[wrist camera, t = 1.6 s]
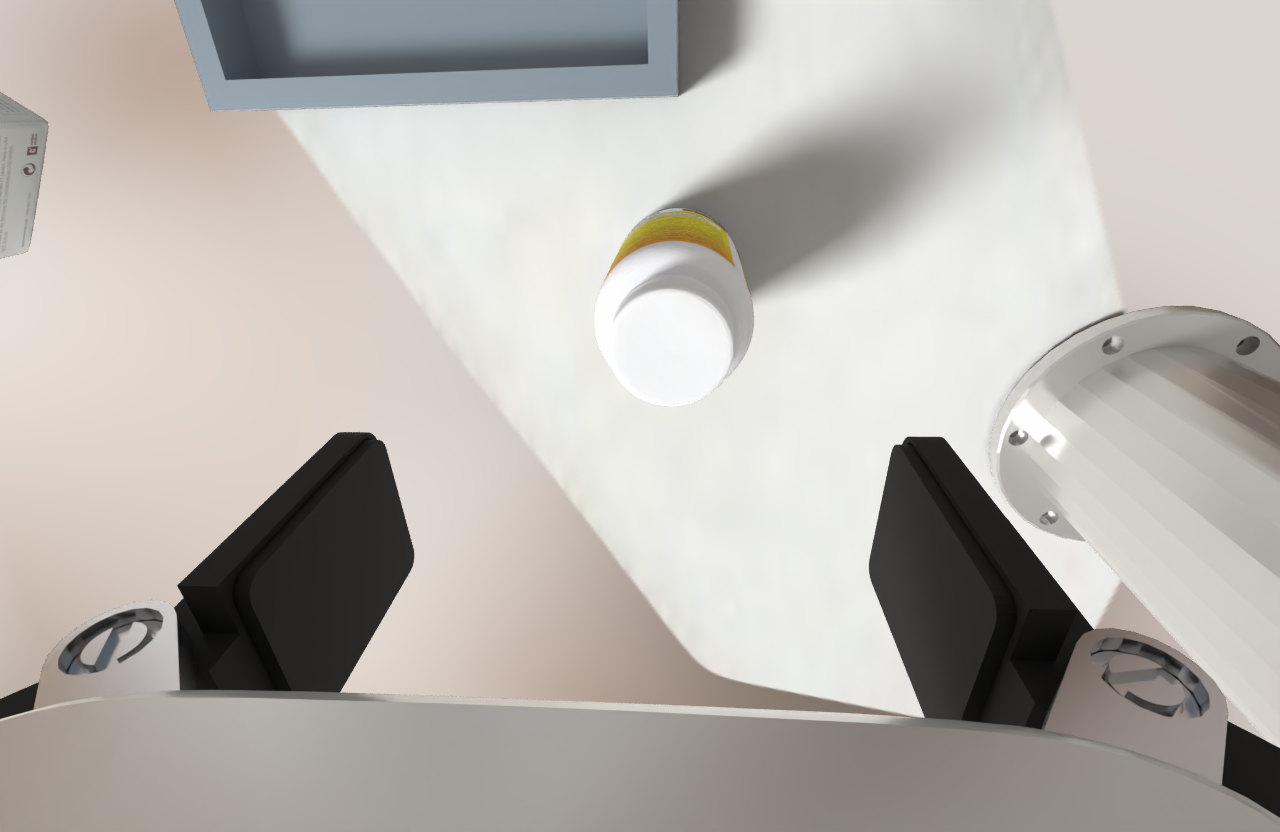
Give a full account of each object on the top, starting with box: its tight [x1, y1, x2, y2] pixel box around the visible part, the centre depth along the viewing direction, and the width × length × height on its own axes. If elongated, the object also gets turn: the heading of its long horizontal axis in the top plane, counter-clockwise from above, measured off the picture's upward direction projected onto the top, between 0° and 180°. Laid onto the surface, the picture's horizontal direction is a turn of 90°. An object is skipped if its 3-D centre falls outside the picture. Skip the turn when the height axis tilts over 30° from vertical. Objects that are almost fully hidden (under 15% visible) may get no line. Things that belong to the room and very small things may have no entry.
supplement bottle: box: [594, 208, 754, 406], centre depth 23 cm, size 6×6×10 cm
